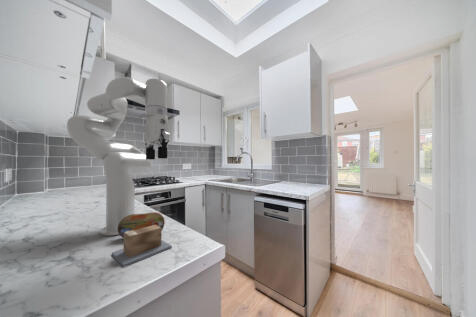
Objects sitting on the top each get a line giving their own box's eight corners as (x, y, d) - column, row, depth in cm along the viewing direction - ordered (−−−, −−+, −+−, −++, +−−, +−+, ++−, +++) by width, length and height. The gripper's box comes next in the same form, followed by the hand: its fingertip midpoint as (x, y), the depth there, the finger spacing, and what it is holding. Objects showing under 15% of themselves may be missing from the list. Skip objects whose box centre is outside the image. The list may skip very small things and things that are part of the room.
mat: (111, 254, 49) (111, 252, 49) (156, 239, 59) (156, 237, 59) (123, 267, 43) (123, 264, 43) (171, 247, 53) (171, 245, 53)
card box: (155, 241, 56) (155, 224, 56) (161, 245, 53) (161, 227, 53) (123, 252, 49) (123, 232, 50) (128, 257, 46) (128, 236, 47)
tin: (117, 240, 59) (117, 216, 59) (120, 237, 62) (121, 213, 62) (164, 235, 63) (164, 212, 63) (165, 232, 66) (165, 210, 66)
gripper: (178, 111, 61) (178, 158, 61) (156, 119, 72) (155, 159, 72) (157, 105, 56) (156, 157, 55) (136, 116, 67) (136, 159, 66)
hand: (156, 158), depth 63 cm, fingers open, 9 cm apart
